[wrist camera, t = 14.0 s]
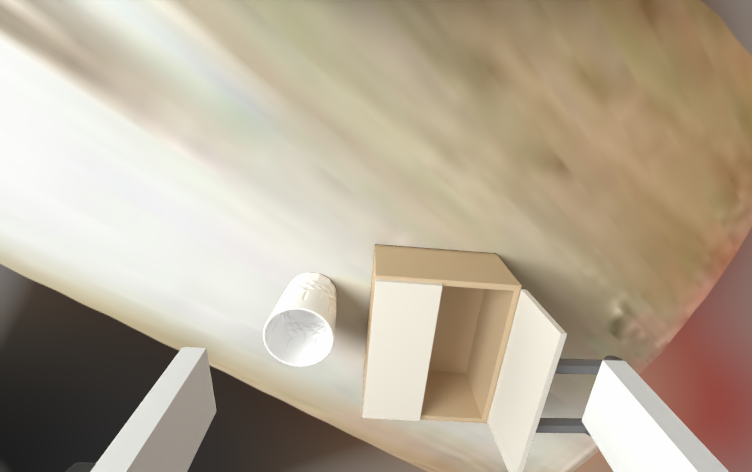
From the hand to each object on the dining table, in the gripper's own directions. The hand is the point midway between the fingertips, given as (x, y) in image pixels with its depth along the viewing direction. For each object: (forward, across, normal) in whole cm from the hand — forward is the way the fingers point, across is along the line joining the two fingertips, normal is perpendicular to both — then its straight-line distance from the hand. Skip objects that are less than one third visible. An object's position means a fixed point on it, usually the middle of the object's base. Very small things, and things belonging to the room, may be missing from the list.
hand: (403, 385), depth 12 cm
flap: (+21, +16, -20) cm, 32 cm away
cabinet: (+34, +7, -20) cm, 40 cm away
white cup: (+34, -9, -17) cm, 39 cm away
